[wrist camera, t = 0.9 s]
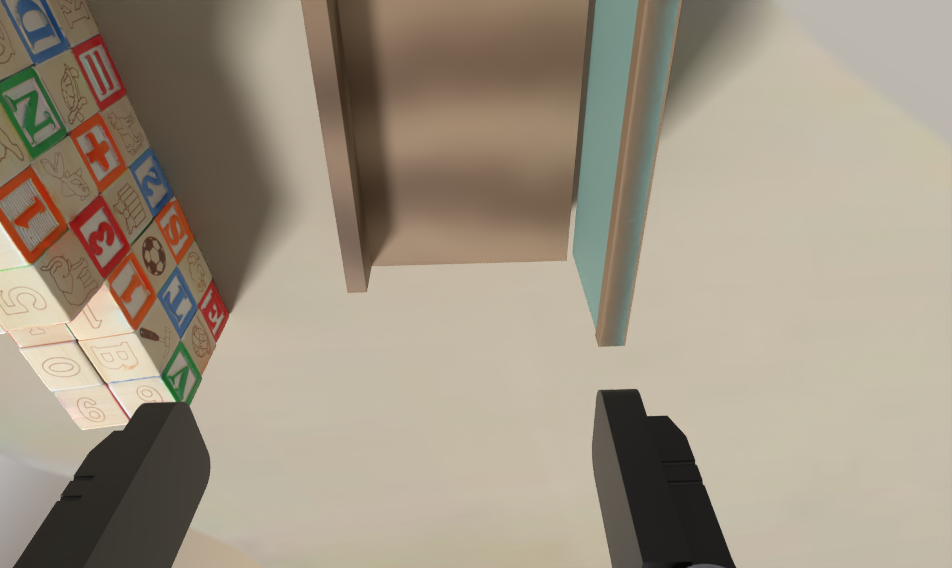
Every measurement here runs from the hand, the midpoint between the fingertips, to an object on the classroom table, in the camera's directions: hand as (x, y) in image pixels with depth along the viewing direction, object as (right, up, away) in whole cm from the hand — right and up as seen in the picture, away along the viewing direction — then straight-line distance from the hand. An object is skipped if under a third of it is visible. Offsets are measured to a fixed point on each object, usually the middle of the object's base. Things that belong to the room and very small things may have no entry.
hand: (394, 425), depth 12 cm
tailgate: (+8, +13, +17) cm, 23 cm away
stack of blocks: (-19, +9, +24) cm, 32 cm away
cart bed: (+1, +15, +20) cm, 25 cm away
